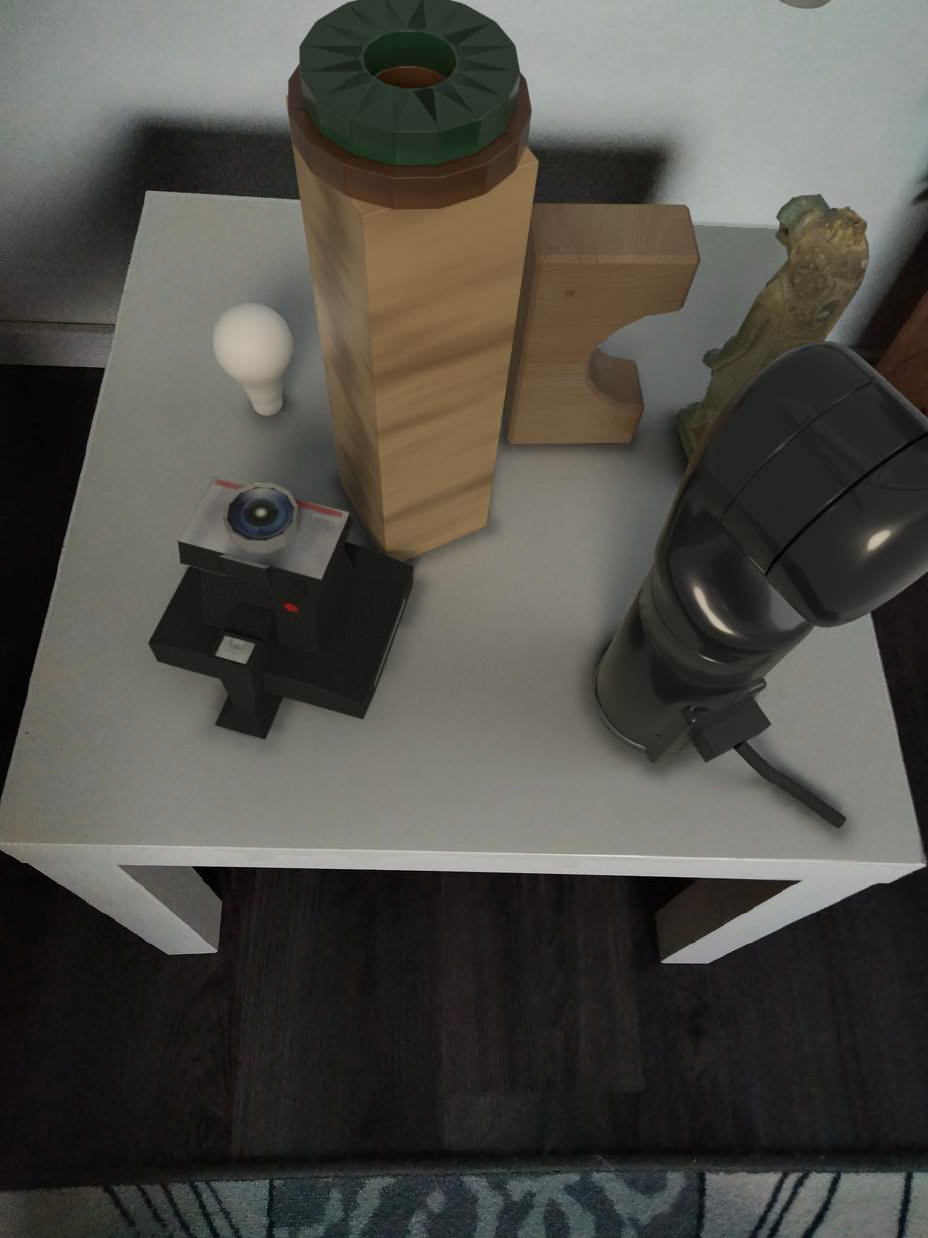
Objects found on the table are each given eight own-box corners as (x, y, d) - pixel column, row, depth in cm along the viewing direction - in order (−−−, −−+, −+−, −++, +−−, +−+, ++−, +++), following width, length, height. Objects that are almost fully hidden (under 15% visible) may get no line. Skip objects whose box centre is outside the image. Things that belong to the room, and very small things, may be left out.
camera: (417, 476, 55) (341, 674, 47) (412, 592, 67) (351, 764, 60) (188, 416, 56) (78, 601, 48) (225, 542, 68) (142, 704, 61)
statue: (727, 403, 76) (860, 144, 53) (766, 478, 72) (926, 237, 50) (657, 417, 74) (762, 160, 52) (693, 495, 71) (823, 256, 49)
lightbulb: (284, 372, 74) (264, 274, 65) (317, 420, 72) (301, 326, 62) (221, 399, 73) (190, 303, 63) (253, 449, 71) (226, 358, 61)
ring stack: (503, 531, 69) (580, 101, 36) (380, 583, 66) (345, 171, 34) (442, 432, 73) (463, -37, 40) (324, 477, 70) (244, 16, 37)
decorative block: (625, 394, 75) (691, 200, 57) (632, 447, 73) (703, 261, 55) (502, 393, 75) (530, 197, 57) (505, 446, 72) (535, 258, 54)
